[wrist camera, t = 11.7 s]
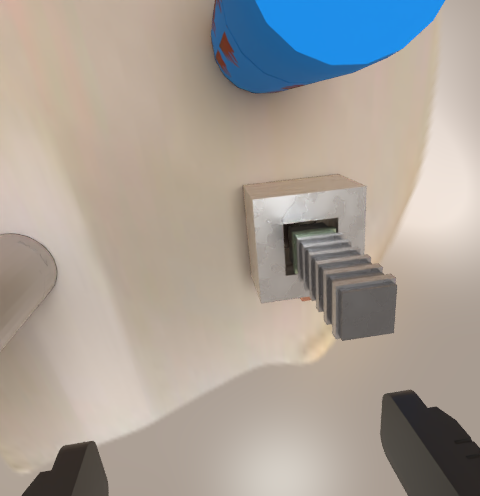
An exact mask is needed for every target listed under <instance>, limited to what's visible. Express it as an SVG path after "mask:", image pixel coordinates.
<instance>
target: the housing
mask: <svg viewBox="0 0 480 496" xmlns="http://www.w3.org/2000/svg"><path fill="white" fill-rule="evenodd" d="M243 193H244V204H245V215H246V226H247V237H248V248H249V259H250V270H251V276H252V279H253V282H254V285H255V287H256V290H257V293H258V296H259V299H260V302H261V303H267V302H274V301H281V300H288V299H295V298H300V299H301V300H302V301H307V300H311V299H310V292H309V290H308V291H305V289H304V283H303V281H302V282H300V281H299V279H298V274H295V273H294V271H293V264H292V262H291V261H290V257H289V248H286V249H284V235H283V224H290V223H298V222H306V221H314V220H315V223H320V222H323V223H325V224H326V225H327V226H328V227H335V228H336V233H340V232H341V233H342V234H343V240H344V239H349V240H350V241H351V246H352V247H355V246H358V247H359V248H360V249H361V255H364V247H365V216H366V186H365V185H363V184H360V183H358V182H356V181H353V180H351V179H348V178H346V177H344V176H341V175H339V174H335V175H326V176H317V177H309V178H300V179H292V180H283V181H274V182H266V183H257V184H248V185H243Z"/></svg>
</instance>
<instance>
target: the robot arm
mask: <svg viewBox="0 0 480 496" xmlns="http://www.w3.org/2000/svg"><path fill="white" fill-rule="evenodd" d="M56 277H57V270H56V265H55V262H54V260H53V258H52V256H51V255H50V253H49V252H48V251H47V250H46V249H45V248H44V247H43V246H42V245H41V244H40V243H38V242H37V241H35V240H33V239H31V238H29V237H26V236H22V235H19V234H3V235H0V352H1V350H2V349H3V348H4V347H5V346H6V344H7V343H8V342H9V341H10V340H11V338H12V337H13V336H14V335H15V333H16V332H17V331H18V330H19V329H20V327H21V326H22V325H23V324H24V322H25V321H26V320H27V319H28V318H29V316H30V315H31V314H32V313H33V312H34V310H35V309H36V308H37V307H38V306H39V304H40V303H41V302H42V301H43V299H44V298H45V297H46V296H47V295H48V293H49V292H50V291H51V289H52V288H53V286H54V284H55V281H56ZM380 435H381V442H382V446H383V449H384V452H385V454H386V457H387V458H388V460H389V462H390V464H391V466H392V468H393V469H394V471H395V473H396V474H397V477H398V478H399V480H400V482H401V483H402V486H403V487H404V489H405V491H406V492H407V495H408V496H480V448H479V447H478V446H477V444H476V443H475V442H472V440H471V437H470V436H469V435H468V434H467V433H466V431H465V430H464V429H463V428H462V427H461V426H460V425H459V423H458V422H457V421H456V420H455V419H453V418H452V417H451V416H449V415H448V414H446V413H445V412H443V411H442V410H440V409H439V408H438V407H431V408H427V407H426V405H425V404H424V403H423V402H422V400H421V399H420V398H419V397H418V395H417V394H416V393H415V392H414V391H412V390H406V391H400V392H394V393H387V394H384V396H383V400H382V415H381V431H380ZM22 496H108V481H107V477H106V474H105V471H104V468H103V465H102V462H101V459H100V456H99V452H98V449H97V446H96V444H95V442H94V441H89V442H83V443H77V444H71V445H65V446H63V447H62V448H61V449H60V451H59V453H58V455H57V458H56V460H55V463H54V465H53V468H52V470H51V471H45V472H40V474H39V475H38V476H37V477H36V478H35V479H34V481H33V482H32V483H31V484H30V486H29V487H28V488H27V489H26V491H25V492H24V493H23V494H22Z"/></svg>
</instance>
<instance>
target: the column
mask: <svg viewBox="0 0 480 496" xmlns="http://www.w3.org/2000/svg"><path fill="white" fill-rule="evenodd" d="M288 236H289V257H290V261H291V262H292V264H293V271H294V273H295V274H298V279H299V281H300V282H302V281H303V283H304V289H305V291H308V290H309V292H310V299H311V300H312V301H314V300H316V308H317V310H318V311H319V312H324V321H325V323H326V324H327V325H328V324H332V334H333V336H334V337H335V339H339V338H341V340H342V341H344V340H351V339H357V338H364V337H370V336H377V335H383V334H390V333H394V322H395V308H396V294H397V285H396V277H394V276H393V275H392V274H386V275H384V274H383V273H382V269H383V267H382V266H381V265H380V264H379V263H378V264H371V257H370V256H369V255H368V254H365V255H361V249H360V248H359V247H358V246H355V247H352V246H351V241H350V240H349V239H344V240H343V234H342V233H341V232H340V233H336V228H335V227H328V226H327V225H326V224H325V223H323V222H320V223H312V224H304V225H296V226H288Z"/></svg>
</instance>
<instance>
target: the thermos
mask: <svg viewBox="0 0 480 496" xmlns="http://www.w3.org/2000/svg"><path fill="white" fill-rule="evenodd" d="M444 1H445V0H215V5H214V10H213V20H212V30H211V40H212V45H213V50H214V55H215V60H216V62H217V63H218V65H219V67H220V69H221V70H222V72H223V74H224V76H225V77H226V78H228V79H229V80H230V81H231V82H232V83H233V84H235V85H236V86H237V87H238V88H241V89H244V90H247V91H250V92H252V93H274V92H280V91H284V90H288V89H292V88H295V87H299V86H303V85H307V84H311V83H315V82H319V81H323V80H327V79H330V78H334V77H338V76H342V75H346V74H350V73H353V72H356V71H358V70H360V69H363V68H365V67H367V66H369V65H372V64H374V63H376V62H379V61H381V60H383V59H386V58H387V57H389V56H391V55H393V54H394V53H396V52H398V51H399V50H401V49H403V48H404V47H405V46H406V45H407V44H408V43H409V42H410V41H411V40H412V39H414V38H415V37H416V36H417V35H418V34H419V33H420V32H421V31H422V30H423V29H424V28H425V27H427V26H428V25H429V24H430V23H431V22H432V21H433V20H434V18H435V17H436V15H437V13H438V12H439V10H440V8H441V7H442V5H443V3H444Z"/></svg>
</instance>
